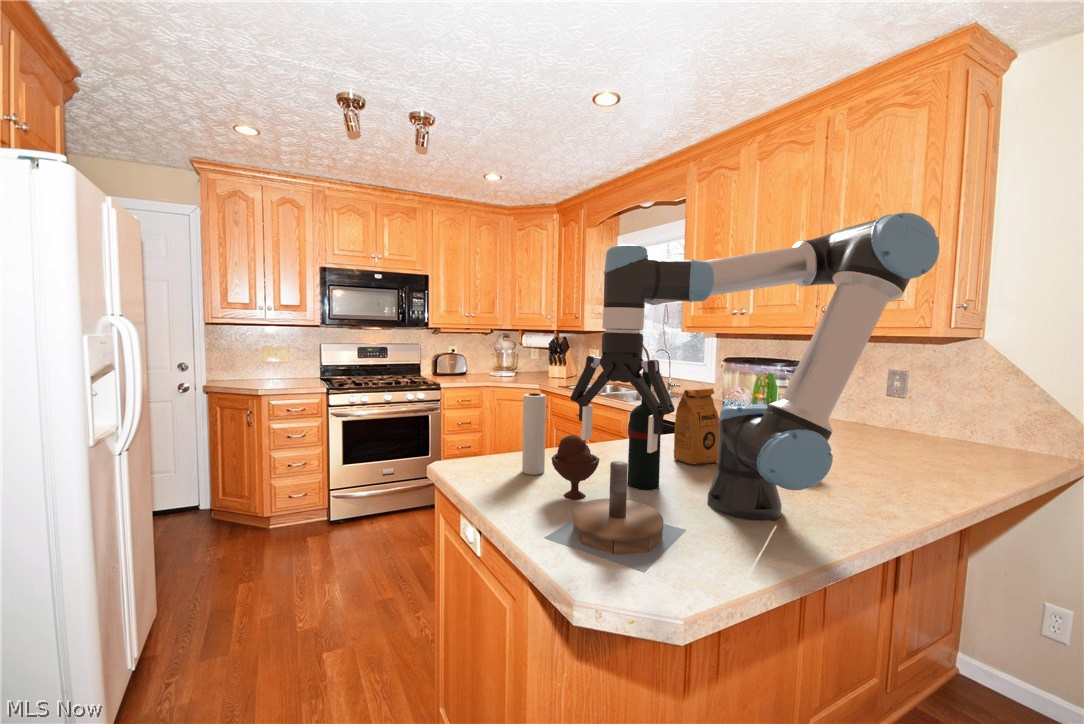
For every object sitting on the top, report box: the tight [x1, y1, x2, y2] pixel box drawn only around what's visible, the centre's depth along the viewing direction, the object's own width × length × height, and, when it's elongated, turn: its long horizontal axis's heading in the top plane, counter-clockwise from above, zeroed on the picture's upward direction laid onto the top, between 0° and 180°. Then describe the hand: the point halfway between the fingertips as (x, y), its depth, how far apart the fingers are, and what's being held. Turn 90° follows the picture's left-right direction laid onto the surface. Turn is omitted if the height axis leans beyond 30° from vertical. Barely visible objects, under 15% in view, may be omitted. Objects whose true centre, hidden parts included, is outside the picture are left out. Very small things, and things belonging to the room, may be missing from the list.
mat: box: [543, 519, 687, 573], centre depth 90 cm, size 20×20×1 cm
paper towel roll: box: [521, 392, 547, 476], centre depth 128 cm, size 7×6×21 cm
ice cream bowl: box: [551, 434, 600, 501], centre depth 109 cm, size 11×11×15 cm
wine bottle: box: [627, 367, 662, 491], centre depth 119 cm, size 8×10×30 cm
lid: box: [572, 460, 664, 554], centre depth 90 cm, size 17×17×14 cm
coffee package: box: [673, 387, 720, 465], centre depth 140 cm, size 10×12×22 cm
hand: (617, 444), depth 89 cm, fingers open, 13 cm apart
